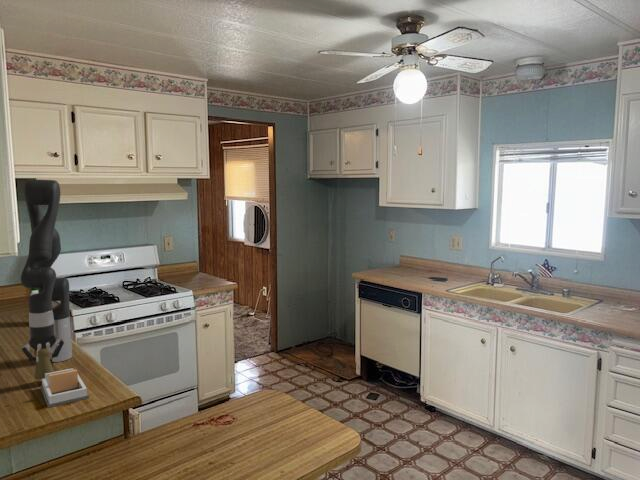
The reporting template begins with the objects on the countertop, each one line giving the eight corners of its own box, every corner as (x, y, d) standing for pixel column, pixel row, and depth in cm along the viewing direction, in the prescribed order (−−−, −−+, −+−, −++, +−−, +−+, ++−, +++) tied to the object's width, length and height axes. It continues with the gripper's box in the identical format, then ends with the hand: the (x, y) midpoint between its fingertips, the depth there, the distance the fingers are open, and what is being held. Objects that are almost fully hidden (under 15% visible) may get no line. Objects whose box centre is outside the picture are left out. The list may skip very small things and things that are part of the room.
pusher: (48, 390, 163) (47, 373, 163) (76, 384, 168) (75, 367, 168) (50, 393, 161) (49, 376, 160) (78, 387, 166) (77, 370, 165)
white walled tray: (40, 388, 168) (39, 374, 167) (78, 380, 175) (77, 367, 174) (47, 407, 153) (47, 392, 153) (88, 398, 160) (88, 383, 160)
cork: (46, 379, 169) (44, 349, 167) (30, 378, 170) (28, 348, 168) (57, 373, 175) (56, 344, 173) (42, 372, 176) (40, 343, 174)
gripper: (62, 317, 177) (64, 362, 179) (17, 323, 169) (20, 370, 171) (65, 322, 171) (68, 369, 173) (19, 329, 163) (22, 378, 165)
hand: (44, 369), depth 172 cm, fingers closed on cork, 2 cm apart
